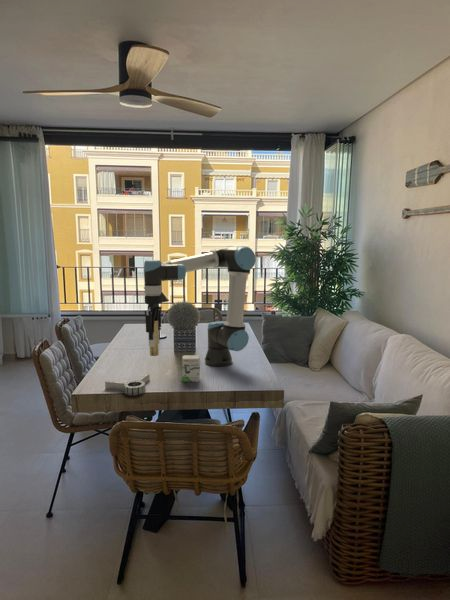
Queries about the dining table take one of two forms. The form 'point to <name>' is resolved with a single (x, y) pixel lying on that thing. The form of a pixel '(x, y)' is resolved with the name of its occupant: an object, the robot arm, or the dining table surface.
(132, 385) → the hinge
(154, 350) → the pin
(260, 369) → the dining table surface
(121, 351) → the dining table surface
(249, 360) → the dining table surface
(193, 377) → the ink box
